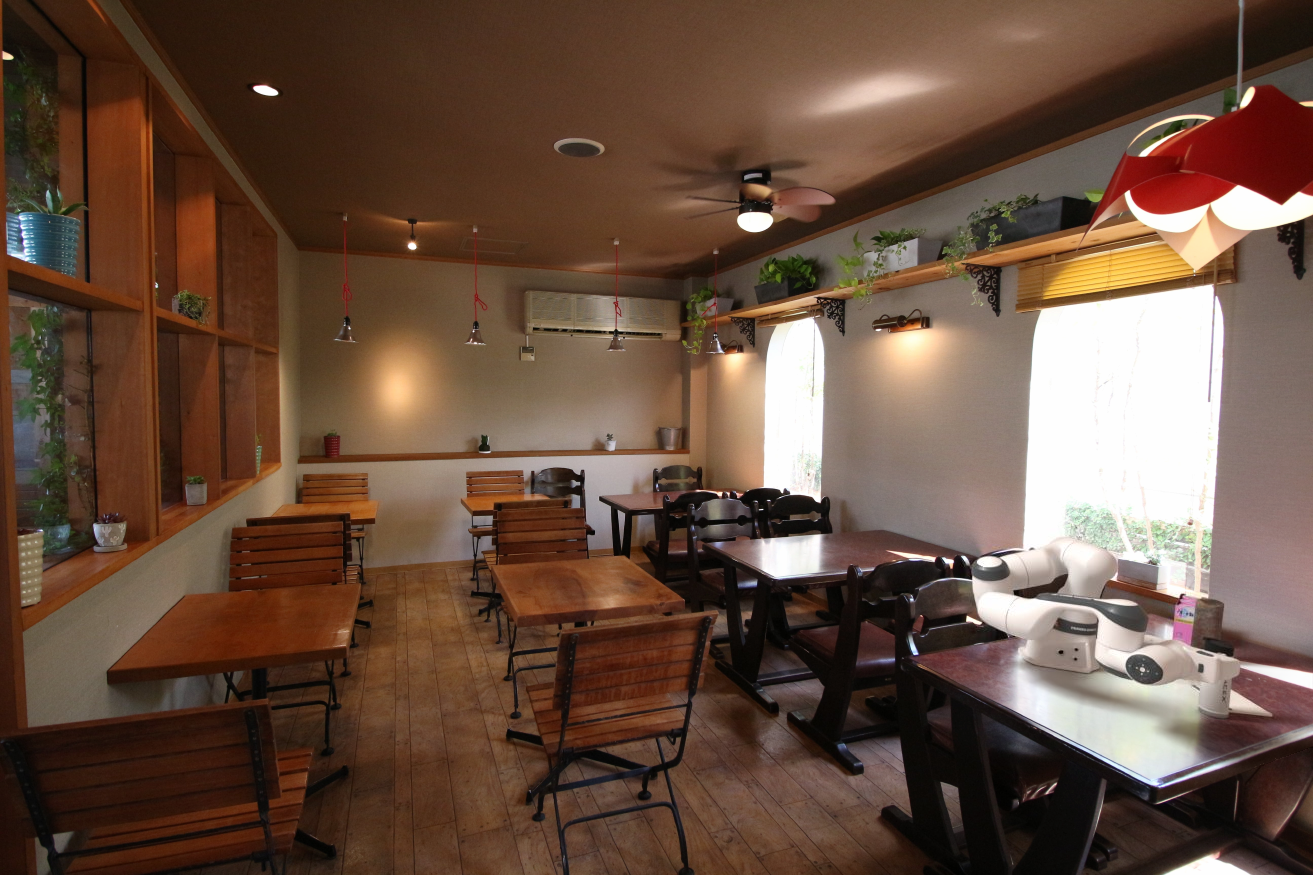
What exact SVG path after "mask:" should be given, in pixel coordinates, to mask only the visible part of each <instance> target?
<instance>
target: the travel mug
mask: <svg viewBox="0 0 1313 875" xmlns="http://www.w3.org/2000/svg"><path fill="white" fill-rule="evenodd" d="M1204 640H1205V643H1204V649H1203V650H1205V651H1209V652H1213V653H1222V654H1226V656H1227V657H1231V658H1234V657H1235V655H1234V653H1235V647H1234V645H1233V644H1231V643H1229V642H1226V641H1224V640H1222V639H1220V640H1218V639H1214V638H1208V637H1203V641H1204ZM1234 659H1235V658H1234ZM1199 682H1200V684H1199V686H1200V692H1198V694H1199V695H1198V705H1197V710H1198V711H1199V712H1200V713H1202V714H1203V715H1206V716H1208V717H1212V718H1215V719H1224V720H1225V719H1228V718H1229V714H1230V712H1229V704H1230V693H1231V690H1232V682H1233V678H1231V679H1227V680H1219V681H1218V683H1217V684H1211V683H1206V682H1201V681H1199Z"/></svg>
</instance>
